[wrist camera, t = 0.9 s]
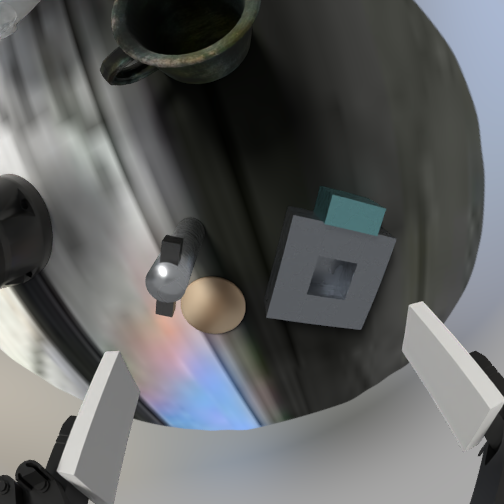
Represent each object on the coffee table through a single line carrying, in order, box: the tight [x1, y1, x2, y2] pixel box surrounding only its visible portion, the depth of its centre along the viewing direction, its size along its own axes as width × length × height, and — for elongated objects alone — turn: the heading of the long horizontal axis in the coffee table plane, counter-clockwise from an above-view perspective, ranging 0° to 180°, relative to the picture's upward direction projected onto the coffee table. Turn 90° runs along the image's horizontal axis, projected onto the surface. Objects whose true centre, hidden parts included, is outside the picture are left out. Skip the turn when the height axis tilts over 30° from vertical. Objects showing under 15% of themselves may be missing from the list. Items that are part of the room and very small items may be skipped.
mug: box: [100, 0, 261, 85], centre depth 22 cm, size 11×15×12 cm
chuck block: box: [264, 186, 396, 330], centre depth 34 cm, size 12×15×5 cm
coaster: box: [181, 276, 245, 334], centre depth 38 cm, size 8×8×1 cm
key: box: [146, 218, 205, 317], centre depth 29 cm, size 3×6×13 cm, turn 168°
